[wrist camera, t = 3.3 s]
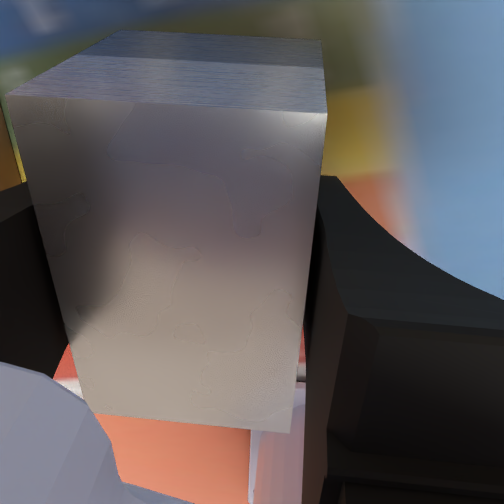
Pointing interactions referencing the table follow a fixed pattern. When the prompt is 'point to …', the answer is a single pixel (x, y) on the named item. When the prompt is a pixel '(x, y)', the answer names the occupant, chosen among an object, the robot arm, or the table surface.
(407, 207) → the table surface
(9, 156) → the walnut stand
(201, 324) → the block
